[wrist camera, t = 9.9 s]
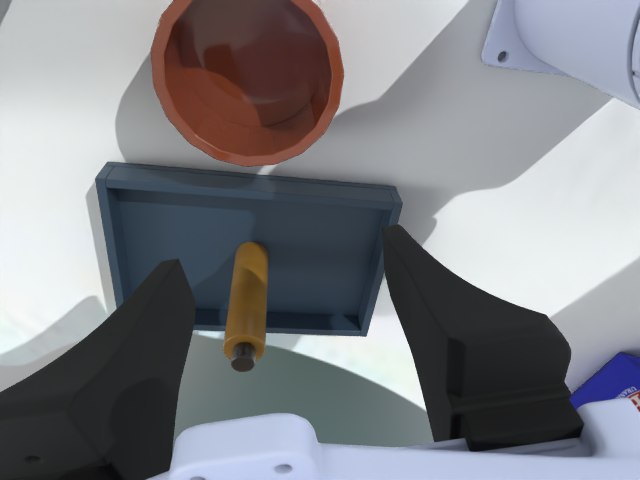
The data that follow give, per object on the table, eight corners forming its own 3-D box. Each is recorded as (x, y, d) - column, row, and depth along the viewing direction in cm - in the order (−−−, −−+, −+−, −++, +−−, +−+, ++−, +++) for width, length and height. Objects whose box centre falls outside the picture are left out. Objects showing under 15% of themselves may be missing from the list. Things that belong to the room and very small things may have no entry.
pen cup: (344, -25, 20) (358, -15, 16) (321, 139, 24) (328, 174, 21) (167, -52, 19) (142, -47, 15) (176, 125, 23) (158, 159, 20)
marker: (268, 241, 27) (264, 349, 20) (268, 267, 28) (264, 378, 21) (235, 241, 27) (219, 350, 20) (236, 267, 28) (222, 379, 21)
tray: (395, 186, 26) (403, 203, 24) (362, 316, 32) (366, 336, 30) (107, 161, 24) (94, 178, 22) (128, 305, 30) (119, 327, 28)
